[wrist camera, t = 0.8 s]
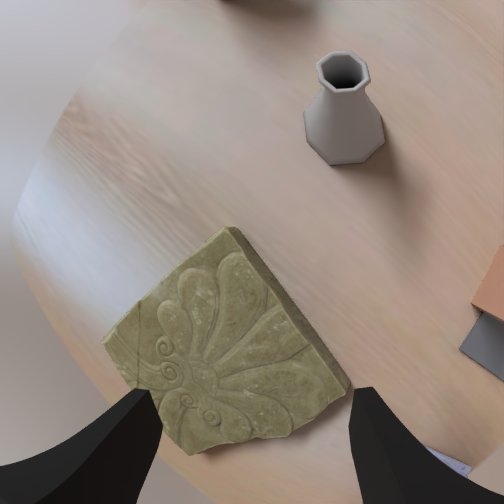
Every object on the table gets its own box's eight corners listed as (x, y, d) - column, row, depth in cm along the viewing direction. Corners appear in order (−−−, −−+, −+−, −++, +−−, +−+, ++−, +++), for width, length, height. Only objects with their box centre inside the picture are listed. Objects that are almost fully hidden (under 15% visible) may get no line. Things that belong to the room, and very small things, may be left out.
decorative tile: (113, 333, 33) (93, 341, 29) (236, 223, 28) (221, 221, 25) (207, 456, 30) (194, 473, 27) (357, 383, 25) (358, 402, 22)
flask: (324, 179, 25) (314, 144, 16) (290, 110, 26) (263, 51, 16) (398, 149, 23) (425, 101, 14) (360, 82, 24) (363, 15, 14)
